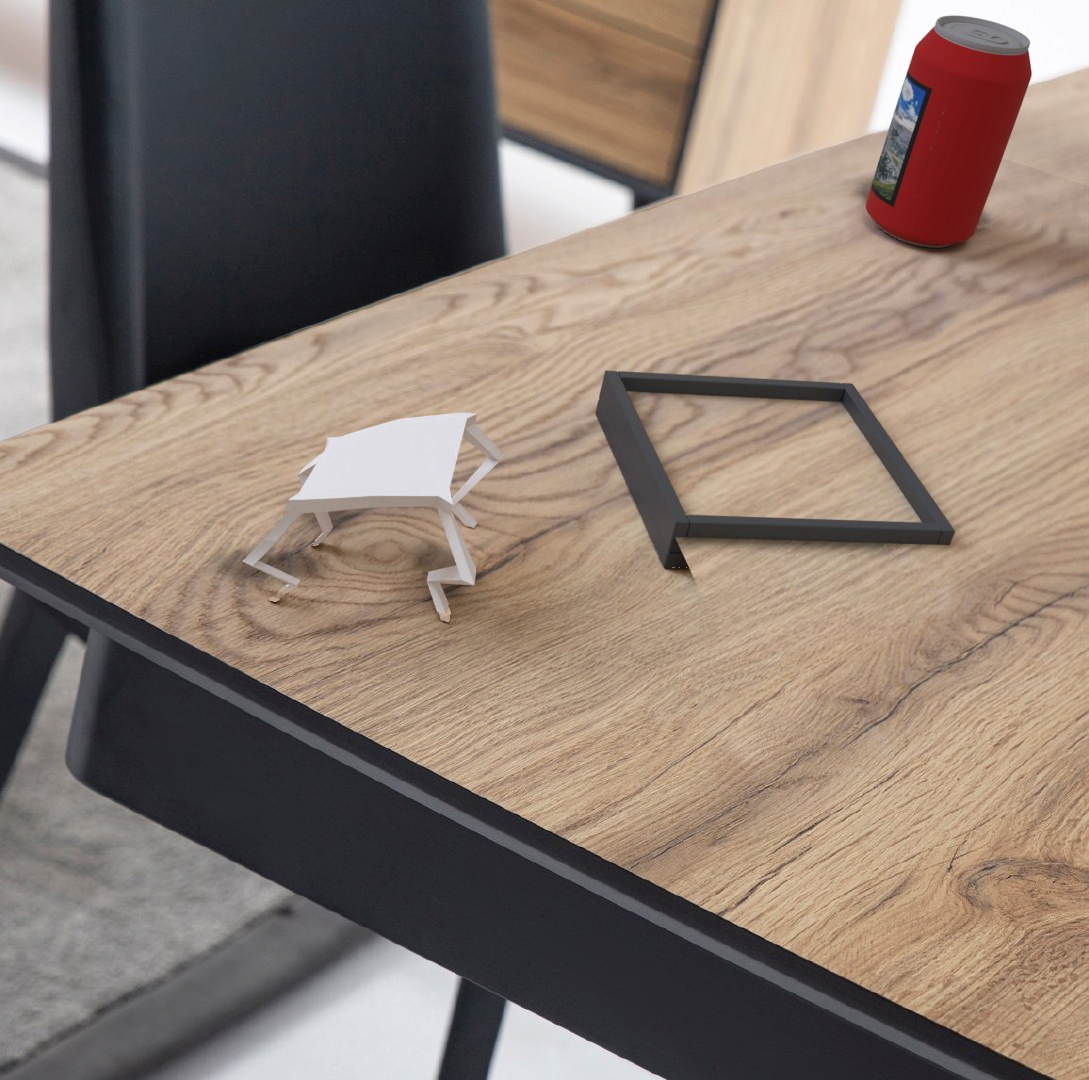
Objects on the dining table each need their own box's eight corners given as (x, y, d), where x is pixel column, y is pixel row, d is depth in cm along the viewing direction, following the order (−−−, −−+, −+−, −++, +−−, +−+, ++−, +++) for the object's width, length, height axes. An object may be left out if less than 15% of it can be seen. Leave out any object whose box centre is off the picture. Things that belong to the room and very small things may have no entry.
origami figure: (431, 680, 58) (452, 568, 55) (227, 598, 60) (236, 486, 57) (551, 526, 67) (574, 423, 64) (370, 460, 69) (384, 357, 66)
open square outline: (838, 425, 78) (852, 382, 77) (938, 576, 69) (956, 530, 67) (594, 413, 75) (604, 369, 74) (663, 568, 66) (676, 521, 65)
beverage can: (881, 197, 103) (943, 3, 96) (983, 233, 101) (1055, 37, 93) (845, 227, 98) (908, 25, 91) (952, 265, 96) (1025, 61, 88)
